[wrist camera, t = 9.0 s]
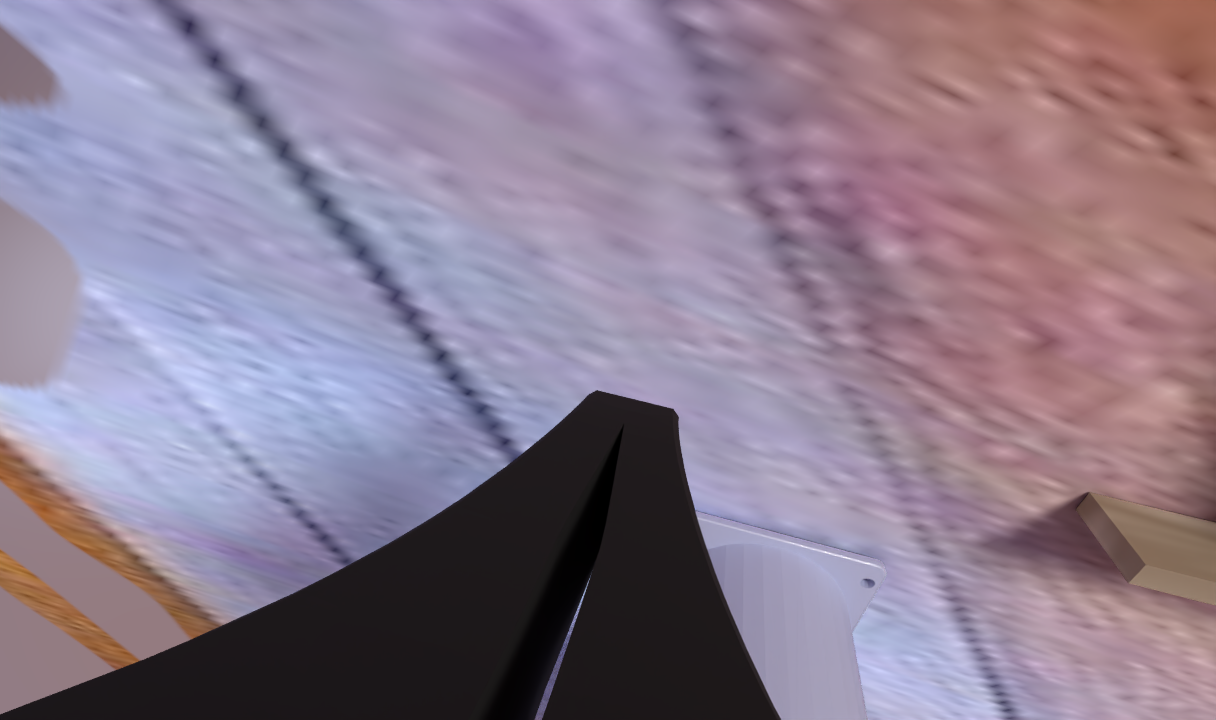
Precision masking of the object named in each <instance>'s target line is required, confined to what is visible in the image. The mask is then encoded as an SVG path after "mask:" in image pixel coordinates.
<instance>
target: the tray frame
mask: <svg viewBox="0 0 1216 720" xmlns="http://www.w3.org/2000/svg"><path fill="white" fill-rule="evenodd" d="M1076 511H1077V512H1078V514H1079V515H1080V517H1081V518H1082V519H1083V521H1084V522H1085V524H1086V525H1087V526H1088V528H1089V529H1090V530H1091V532H1092V533H1093V535H1094V536H1095V537H1096V539H1097V540H1098V542H1099V543H1100V544H1101V546H1102V547H1103V549H1104V550H1105V551H1106V553H1107V554H1108V556H1109V557H1110V558H1111V560H1112V561H1113V562H1114V564H1115V565H1116V567H1117V568H1118V569H1119V571H1120V572H1121V574H1122V575H1123V576H1124V578H1125V579H1126V581H1127V582H1128V583H1129V584H1133V585H1137V586H1141V587H1145V588H1149V589H1153V590H1157V591H1160V592H1164V593H1168V594H1172V595H1176V596H1180V597H1184V598H1188V599H1192V600H1196V601H1199V602H1203V603H1207V604H1211V605H1215V606H1216V523H1215V522H1211V521H1207V520H1202V519H1198V518H1194V517H1190V516H1186V515H1182V514H1177V513H1173V512H1169V511H1165V510H1161V509H1157V508H1152V507H1148V506H1144V505H1140V504H1136V503H1132V502H1127V501H1123V500H1119V499H1115V498H1111V497H1107V496H1102V495H1098V494H1094V493H1090V492H1089V494H1088V495H1087V496H1086V497H1085V499H1084V500H1083V501H1082V503H1081V504H1080V505H1079V506H1078V508H1077V509H1076Z"/></svg>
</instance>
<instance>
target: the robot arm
mask: <svg viewBox="0 0 1216 720" xmlns="http://www.w3.org/2000/svg"><path fill="white" fill-rule="evenodd" d="M678 419H679V417H678V415H677V414H676V412H675V411H674V409H671V408H667V407H663V406H659V405H655V404H651V403H647V402H643V401H639V400H635V399H630V398H626V397H622V396H618V395H614V394H610V393H606V392H602V391H598V390H596V391H595V392H593V393H591V394H589V395H588V396H587V397H586V398H585V399H584V400H583V401H582V402H581V403H580V404H579V405H578V406H577V407H576V408H575V409H574V410H573V411H572V412H571V413H570V414H568V415H567V416H566V417H565V418H564V419H563V420H562V421H561V422H560V423H559V424H557V425H556V426H555V427H554V428H553V429H552V430H551V431H549V432H548V433H547V434H546V435H545V436H544V437H542V438H541V439H540V440H539V441H537V442H536V443H535V444H534V445H533V446H531V447H530V448H529V449H528V450H526V451H525V452H524V453H523V454H521V455H520V456H519V457H518V458H517V459H515V460H514V461H513V462H511V463H510V464H509V465H507V466H506V467H505V468H503V469H502V470H501V471H499V472H498V473H496V474H495V475H494V476H492V477H491V478H490V479H488V480H487V481H485V482H484V483H483V484H481V485H480V486H478V487H477V488H476V489H474V490H473V491H471V492H470V493H469V494H467V495H466V496H464V497H463V498H461V499H460V500H459V501H457V502H455V503H454V504H452V505H451V506H449V507H448V508H446V509H445V510H443V511H442V512H440V513H439V514H437V515H435V516H434V517H432V518H431V519H429V520H427V521H426V522H424V523H423V524H421V525H419V526H417V527H416V528H414V529H412V530H411V531H409V532H407V533H406V534H404V535H402V536H401V537H399V538H397V539H396V540H394V541H392V542H390V543H389V544H387V545H385V546H383V547H381V548H379V549H378V550H376V551H374V552H372V553H370V554H368V555H367V556H365V557H363V558H361V559H359V560H357V561H355V562H354V563H352V564H350V565H348V566H346V567H344V568H342V569H341V570H339V571H337V572H335V573H333V574H331V575H329V576H327V577H325V578H323V579H321V580H319V581H317V582H315V583H313V584H311V585H309V586H307V587H305V588H303V589H301V590H299V591H297V592H295V593H293V594H291V595H289V596H287V597H284V598H282V599H280V600H278V601H276V602H273V603H271V604H269V605H267V606H265V607H262V608H260V609H258V610H256V611H253V612H251V613H249V614H247V615H245V616H242V617H240V618H238V619H236V620H233V621H231V622H229V623H227V624H225V625H222V626H220V627H218V628H216V629H214V630H211V631H209V632H207V633H205V634H202V635H200V636H198V637H196V638H194V639H191V640H189V641H187V642H184V643H182V644H180V645H177V646H175V647H173V648H170V649H168V650H165V651H163V652H161V653H158V654H156V655H154V656H151V657H149V658H146V659H144V660H141V661H139V662H136V663H134V664H131V665H128V666H126V667H123V668H121V669H118V670H115V671H113V672H110V673H107V674H105V675H102V676H100V677H97V678H94V679H92V680H89V681H87V682H84V683H81V684H79V685H76V686H73V687H71V688H68V689H66V690H63V691H61V692H58V693H55V694H52V695H50V696H47V697H45V698H42V699H40V700H37V701H34V702H31V703H29V704H26V705H24V706H21V707H18V708H16V709H13V710H11V711H8V712H5V713H3V714H0V720H534V719H535V716H536V714H537V711H538V708H539V705H540V702H541V700H542V697H543V694H544V691H545V688H546V686H547V683H548V681H549V678H550V676H551V673H552V671H553V668H554V666H555V663H556V661H557V658H558V656H559V653H560V651H561V648H562V646H563V643H564V641H565V638H566V636H567V633H568V631H569V628H570V626H571V623H572V621H573V618H574V616H575V613H576V611H577V608H578V606H579V603H580V601H581V598H582V596H583V593H584V591H585V588H586V586H587V583H588V581H589V583H588V586H587V589H586V592H585V595H584V598H583V601H582V604H581V607H580V610H579V613H578V616H577V619H576V622H575V625H574V628H573V631H572V634H571V637H570V640H569V643H568V646H567V649H566V652H565V655H564V658H563V661H562V663H561V666H560V669H559V672H558V675H557V678H556V681H555V684H554V687H553V690H552V693H551V696H550V699H549V701H548V704H547V707H546V710H545V713H544V716H543V718H542V720H868V719H867V713H866V708H865V702H864V696H863V691H862V685H861V679H860V674H859V668H858V663H857V657H856V651H855V646H854V640H853V635H852V633H853V631H854V629H855V628H856V626H857V624H858V623H859V621H860V619H861V618H862V616H863V614H864V613H865V611H866V609H867V608H868V606H869V604H870V603H871V601H872V599H873V598H874V596H875V594H876V593H877V591H878V589H879V588H880V586H881V584H882V583H883V581H884V580H885V578H886V575H887V573H886V569H885V566H884V564H883V563H882V562H881V561H879V560H877V559H874V558H870V557H867V556H863V555H859V554H855V553H852V552H848V551H844V550H840V549H837V548H833V547H829V546H825V545H821V544H818V543H814V542H810V541H806V540H803V539H799V538H795V537H791V536H788V535H784V534H780V533H776V532H773V531H769V530H765V529H761V528H758V527H754V526H750V525H746V524H742V523H739V522H735V521H731V520H727V519H724V518H720V517H716V516H712V515H709V514H705V513H701V512H697V511H695V508H694V504H693V501H692V497H691V493H690V490H689V486H688V482H687V478H686V473H685V469H684V464H683V458H682V453H681V447H680V440H679V428H678ZM591 573H592V574H591ZM590 576H591V577H590ZM589 578H590V580H589ZM863 579H868V580H863Z"/></svg>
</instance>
